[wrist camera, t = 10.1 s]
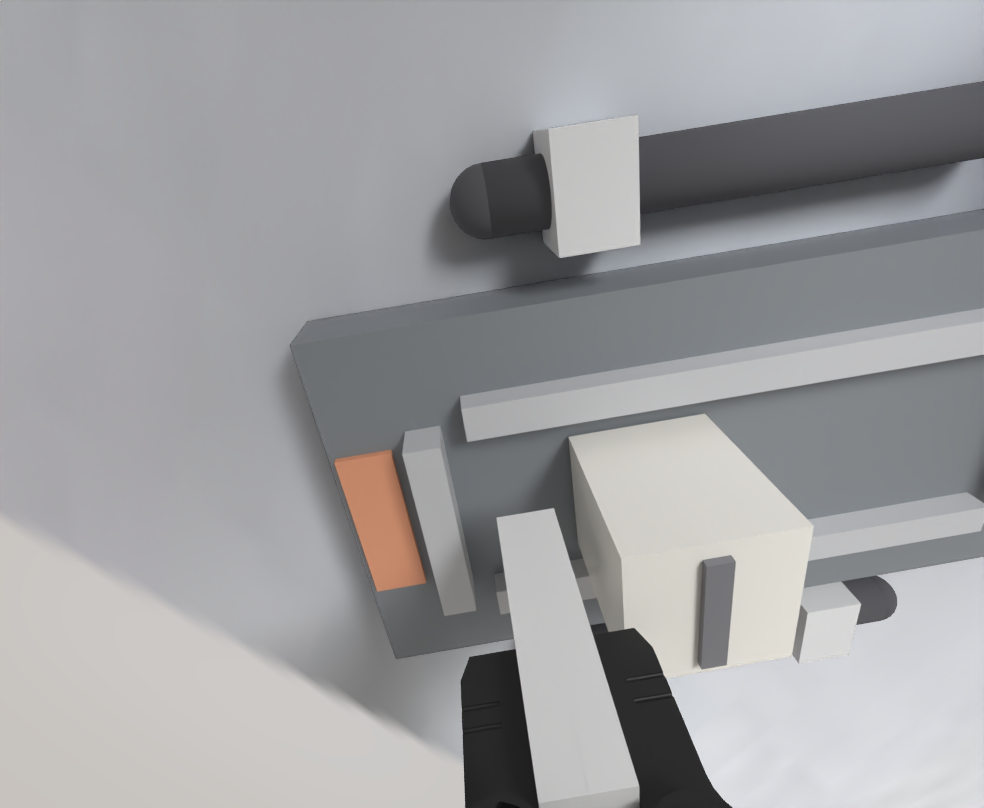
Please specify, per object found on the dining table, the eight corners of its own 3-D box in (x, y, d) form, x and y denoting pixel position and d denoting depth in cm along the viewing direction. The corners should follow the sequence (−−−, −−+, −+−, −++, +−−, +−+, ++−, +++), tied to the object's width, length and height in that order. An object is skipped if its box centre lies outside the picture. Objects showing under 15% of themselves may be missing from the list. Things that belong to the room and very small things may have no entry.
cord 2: (519, 613, 21) (527, 662, 19) (880, 551, 21) (925, 592, 19) (527, 660, 22) (535, 709, 20) (868, 600, 23) (909, 644, 21)
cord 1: (440, 146, 13) (440, 146, 12) (1004, 54, 14) (1099, 40, 12) (458, 256, 15) (461, 274, 13) (975, 171, 15) (1056, 176, 13)
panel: (307, 321, 15) (276, 362, 12) (1118, 187, 16) (1271, 196, 13) (399, 614, 21) (393, 690, 18) (999, 510, 21) (1087, 568, 18)
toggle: (568, 436, 15) (624, 566, 11) (704, 413, 15) (820, 532, 11) (578, 542, 17) (629, 692, 12) (699, 521, 17) (796, 663, 12)
